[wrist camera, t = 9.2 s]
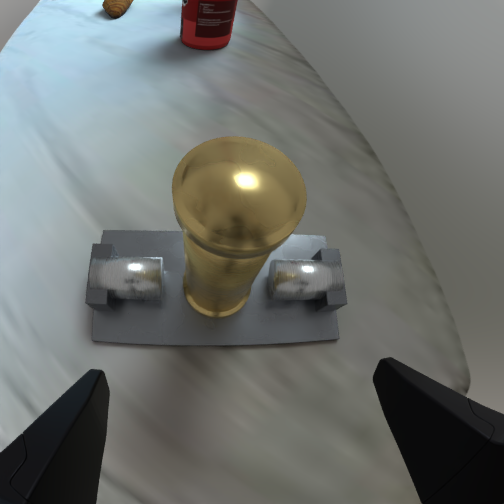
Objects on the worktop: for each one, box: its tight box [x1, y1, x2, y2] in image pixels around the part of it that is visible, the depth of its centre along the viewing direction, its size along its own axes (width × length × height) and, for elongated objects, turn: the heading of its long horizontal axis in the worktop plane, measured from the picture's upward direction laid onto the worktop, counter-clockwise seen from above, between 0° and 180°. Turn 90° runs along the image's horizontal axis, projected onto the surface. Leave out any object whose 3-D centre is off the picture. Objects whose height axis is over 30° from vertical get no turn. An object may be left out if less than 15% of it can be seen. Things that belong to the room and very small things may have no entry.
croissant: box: [102, 0, 133, 18], centre depth 39 cm, size 14×7×5 cm, turn 16°
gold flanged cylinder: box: [172, 137, 307, 319], centre depth 17 cm, size 5×5×13 cm
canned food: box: [180, 0, 238, 50], centre depth 32 cm, size 8×8×11 cm
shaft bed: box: [85, 230, 347, 346], centre depth 21 cm, size 19×9×3 cm, turn 93°
